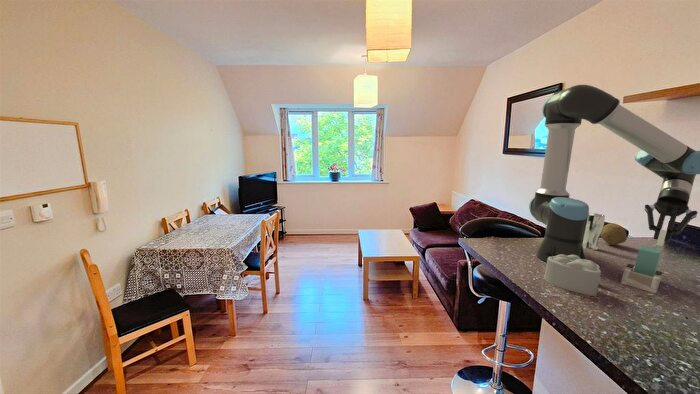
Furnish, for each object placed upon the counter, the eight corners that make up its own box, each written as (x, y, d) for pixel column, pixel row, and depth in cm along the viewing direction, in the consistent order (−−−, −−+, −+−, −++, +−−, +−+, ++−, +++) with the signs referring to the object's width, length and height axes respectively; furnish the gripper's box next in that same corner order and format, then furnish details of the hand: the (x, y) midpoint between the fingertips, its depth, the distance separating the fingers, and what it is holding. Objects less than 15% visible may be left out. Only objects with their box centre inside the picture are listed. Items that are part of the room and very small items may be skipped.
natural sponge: (591, 241, 132) (595, 220, 130) (609, 241, 133) (613, 220, 131) (611, 248, 123) (615, 226, 122) (629, 248, 124) (634, 226, 122)
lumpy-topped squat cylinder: (597, 298, 81) (603, 269, 80) (543, 283, 89) (547, 257, 87) (594, 284, 90) (599, 258, 88) (545, 272, 97) (549, 248, 96)
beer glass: (597, 247, 124) (603, 214, 121) (600, 252, 118) (607, 217, 116) (577, 243, 128) (583, 211, 125) (579, 248, 122) (585, 214, 119)
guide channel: (624, 273, 98) (627, 257, 97) (666, 284, 91) (671, 267, 90) (614, 286, 89) (617, 268, 88) (660, 300, 81) (665, 281, 80)
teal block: (635, 273, 95) (642, 245, 93) (654, 278, 92) (661, 249, 90) (632, 278, 91) (639, 249, 90) (651, 284, 88) (659, 253, 86)
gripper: (700, 204, 101) (686, 259, 94) (648, 198, 111) (632, 247, 104) (704, 191, 97) (690, 247, 90) (649, 186, 107) (632, 236, 100)
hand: (659, 247), depth 97 cm, fingers closed
